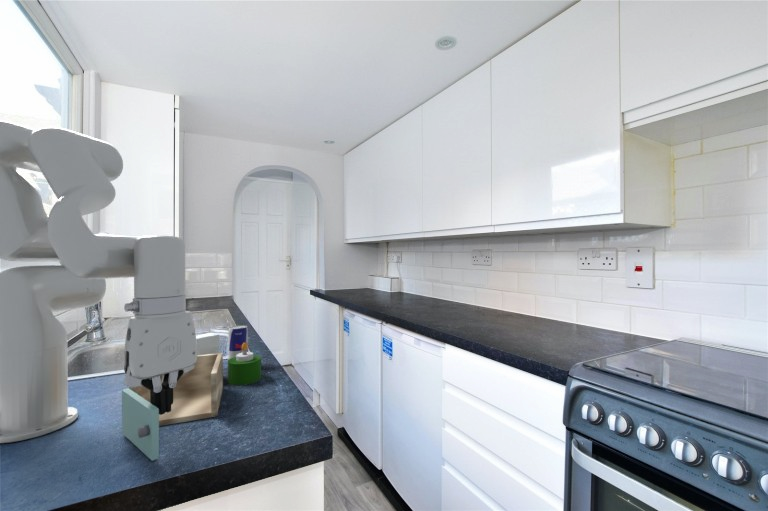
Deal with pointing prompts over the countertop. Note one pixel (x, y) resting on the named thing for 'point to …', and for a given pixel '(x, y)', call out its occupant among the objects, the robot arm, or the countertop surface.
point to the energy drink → (237, 339)
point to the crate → (193, 391)
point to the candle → (244, 368)
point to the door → (140, 423)
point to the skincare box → (207, 344)
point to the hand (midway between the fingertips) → (162, 411)
